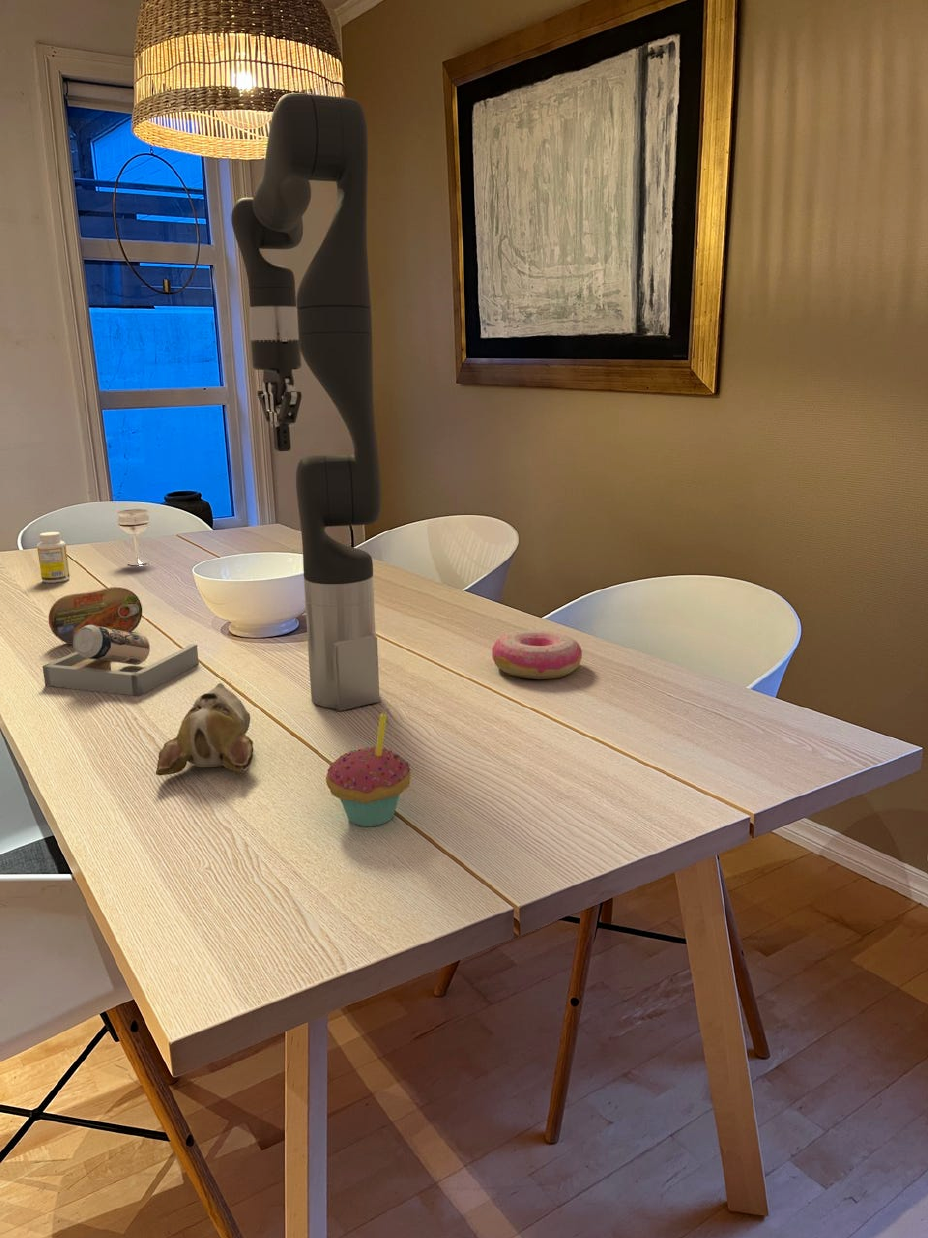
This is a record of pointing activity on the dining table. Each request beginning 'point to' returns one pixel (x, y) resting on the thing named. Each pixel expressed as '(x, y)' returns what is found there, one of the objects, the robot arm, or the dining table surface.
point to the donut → (536, 654)
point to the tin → (95, 612)
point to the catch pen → (118, 674)
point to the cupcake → (369, 781)
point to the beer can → (111, 645)
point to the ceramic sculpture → (210, 735)
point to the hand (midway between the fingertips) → (282, 450)
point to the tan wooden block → (94, 664)
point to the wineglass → (134, 525)
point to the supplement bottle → (53, 558)
